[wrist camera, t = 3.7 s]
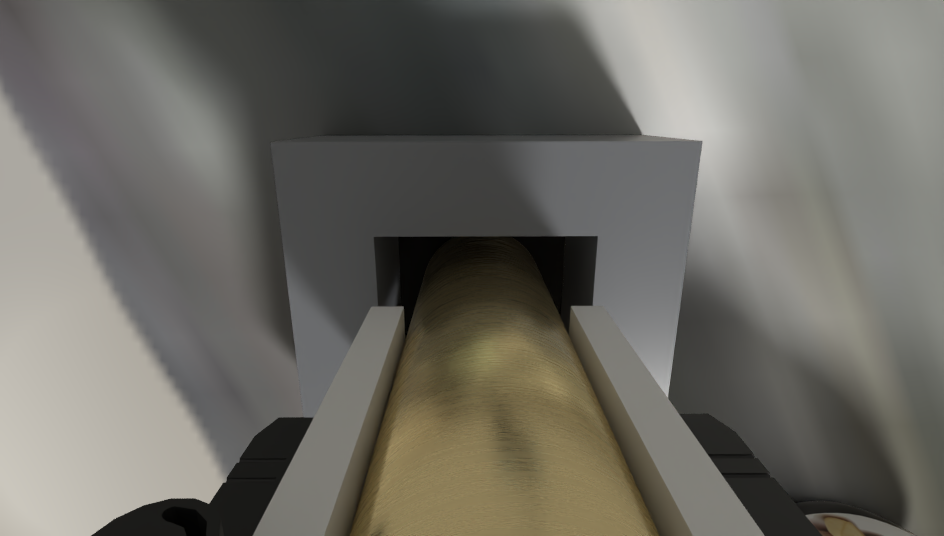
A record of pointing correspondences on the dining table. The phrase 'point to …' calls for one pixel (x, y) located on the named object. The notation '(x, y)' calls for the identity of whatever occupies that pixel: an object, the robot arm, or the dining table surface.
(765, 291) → the dining table surface
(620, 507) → the plug
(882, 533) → the spread jar
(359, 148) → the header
